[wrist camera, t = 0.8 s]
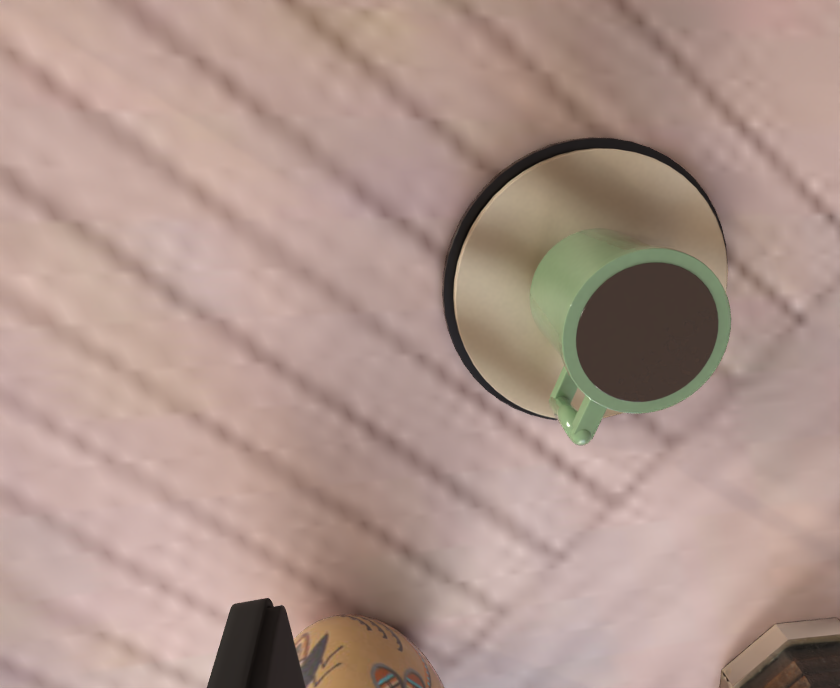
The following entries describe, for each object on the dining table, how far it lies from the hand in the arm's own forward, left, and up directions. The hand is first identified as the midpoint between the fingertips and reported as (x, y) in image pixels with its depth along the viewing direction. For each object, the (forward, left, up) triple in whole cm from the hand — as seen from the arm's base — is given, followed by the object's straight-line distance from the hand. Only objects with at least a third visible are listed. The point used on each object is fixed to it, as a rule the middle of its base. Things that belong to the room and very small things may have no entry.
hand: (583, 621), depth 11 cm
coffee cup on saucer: (+7, +6, -28) cm, 29 cm away
